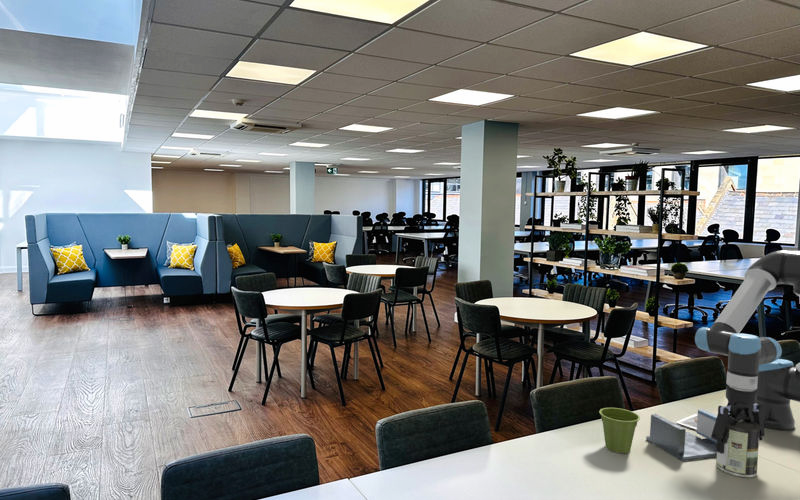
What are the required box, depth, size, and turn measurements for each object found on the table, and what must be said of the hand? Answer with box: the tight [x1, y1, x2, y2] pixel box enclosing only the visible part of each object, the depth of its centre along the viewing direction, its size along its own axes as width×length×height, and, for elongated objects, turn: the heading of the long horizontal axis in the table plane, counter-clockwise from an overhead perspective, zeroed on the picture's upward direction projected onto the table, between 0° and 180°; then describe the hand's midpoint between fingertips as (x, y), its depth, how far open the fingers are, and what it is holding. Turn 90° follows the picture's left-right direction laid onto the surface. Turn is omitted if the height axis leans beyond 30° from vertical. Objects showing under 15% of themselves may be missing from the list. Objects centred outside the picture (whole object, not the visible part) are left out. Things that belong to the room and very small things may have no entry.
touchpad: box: [675, 413, 698, 431], centre depth 183 cm, size 8×15×2 cm, turn 124°
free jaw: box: [696, 409, 717, 443], centre depth 167 cm, size 9×11×8 cm
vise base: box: [645, 413, 717, 462], centre depth 164 cm, size 27×15×9 cm, turn 105°
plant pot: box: [598, 407, 641, 454], centre depth 161 cm, size 12×12×11 cm
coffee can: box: [715, 416, 761, 478], centre depth 149 cm, size 10×10×14 cm
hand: (736, 461), depth 150 cm, fingers closed on coffee can, 10 cm apart
